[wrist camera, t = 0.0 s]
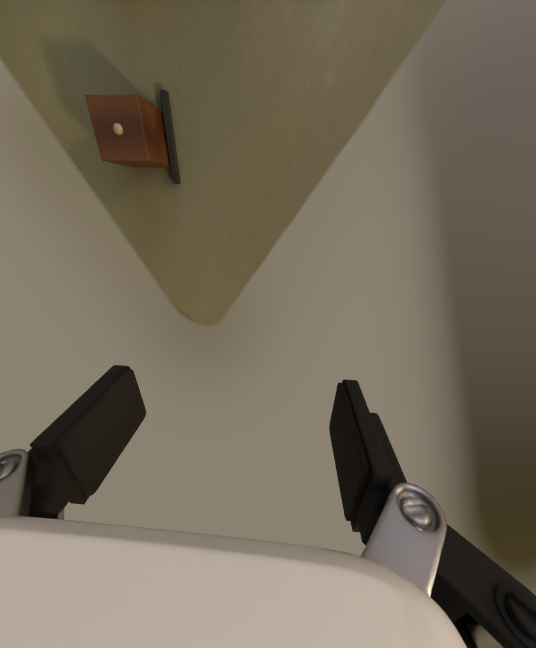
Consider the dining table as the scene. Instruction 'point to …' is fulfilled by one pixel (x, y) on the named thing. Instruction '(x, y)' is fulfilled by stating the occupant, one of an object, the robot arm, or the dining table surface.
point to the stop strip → (170, 135)
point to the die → (129, 130)
